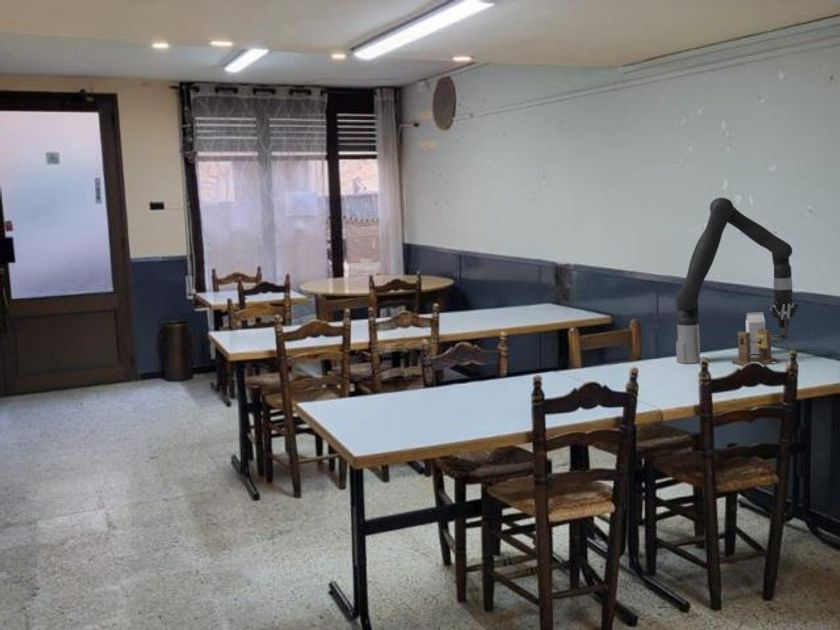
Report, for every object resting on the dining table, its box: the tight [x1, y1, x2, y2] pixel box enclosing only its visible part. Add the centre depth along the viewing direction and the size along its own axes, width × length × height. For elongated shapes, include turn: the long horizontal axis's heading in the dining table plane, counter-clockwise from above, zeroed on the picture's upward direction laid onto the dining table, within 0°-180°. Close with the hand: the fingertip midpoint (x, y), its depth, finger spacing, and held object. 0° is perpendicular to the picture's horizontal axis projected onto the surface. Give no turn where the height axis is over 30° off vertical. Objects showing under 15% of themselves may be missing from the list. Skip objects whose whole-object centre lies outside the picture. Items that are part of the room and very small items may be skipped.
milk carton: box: [745, 311, 766, 354], centre depth 385 cm, size 7×7×19 cm
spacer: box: [755, 333, 767, 348], centre depth 365 cm, size 2×6×6 cm, turn 13°
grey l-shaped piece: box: [742, 316, 789, 344], centre depth 365 cm, size 21×3×10 cm, turn 103°
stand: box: [731, 328, 780, 367], centre depth 365 cm, size 16×10×14 cm, turn 103°
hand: (783, 327), depth 367 cm, fingers closed on grey l-shaped piece
